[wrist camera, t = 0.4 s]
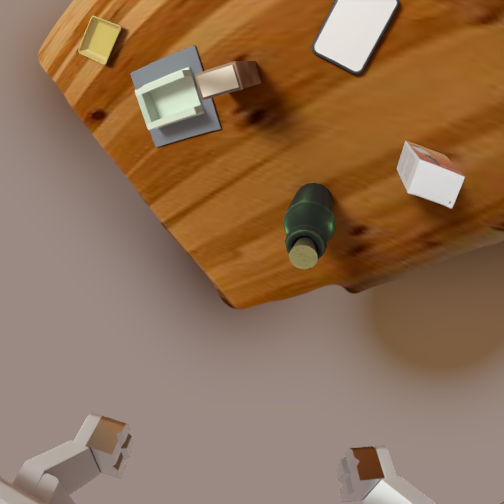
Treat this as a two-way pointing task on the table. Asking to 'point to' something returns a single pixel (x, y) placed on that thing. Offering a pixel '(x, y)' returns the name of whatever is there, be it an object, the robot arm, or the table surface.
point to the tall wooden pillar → (227, 78)
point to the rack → (169, 99)
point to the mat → (210, 116)
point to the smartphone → (353, 32)
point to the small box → (429, 174)
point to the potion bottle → (309, 225)
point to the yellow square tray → (99, 39)
